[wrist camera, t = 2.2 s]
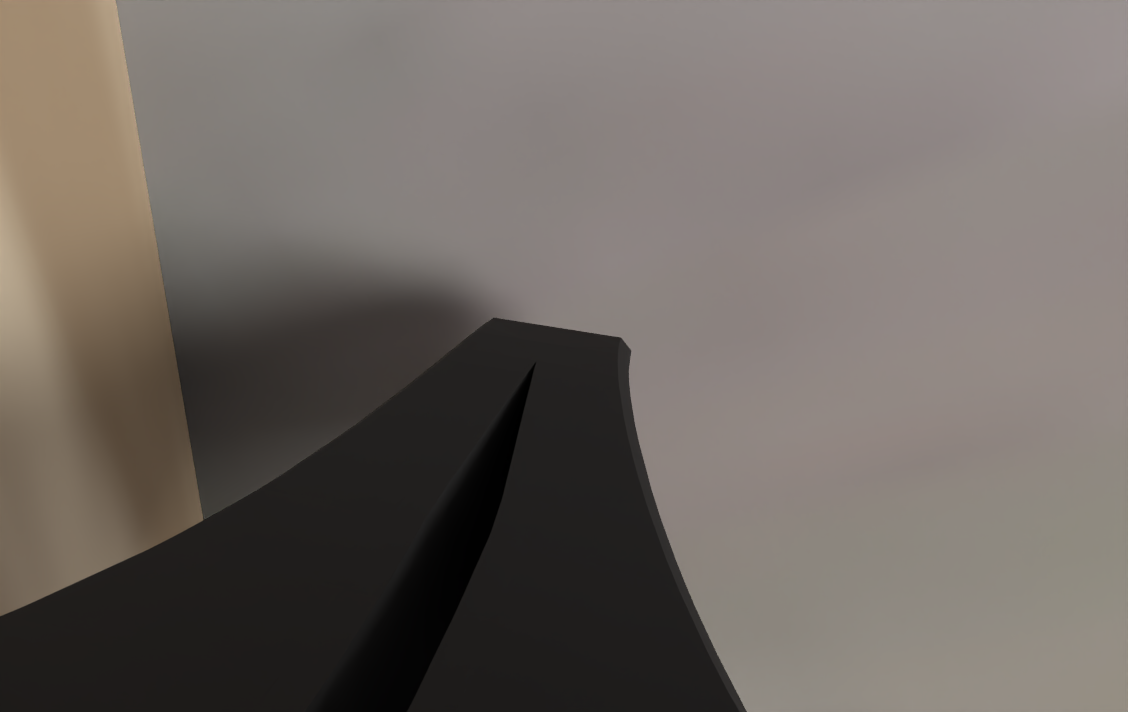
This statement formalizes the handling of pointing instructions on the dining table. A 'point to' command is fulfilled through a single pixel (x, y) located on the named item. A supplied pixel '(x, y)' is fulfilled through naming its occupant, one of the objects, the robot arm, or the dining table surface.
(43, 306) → the T block
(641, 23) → the dining table surface
